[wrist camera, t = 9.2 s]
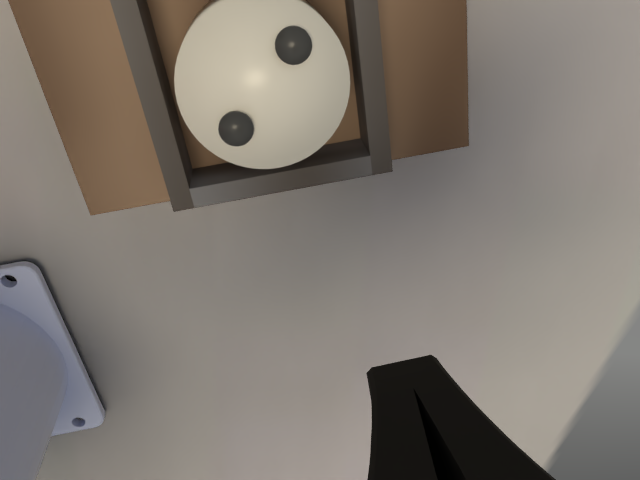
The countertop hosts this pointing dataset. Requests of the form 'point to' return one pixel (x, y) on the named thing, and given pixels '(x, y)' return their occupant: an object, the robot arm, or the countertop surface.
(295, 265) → the countertop surface
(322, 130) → the button two
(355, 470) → the countertop surface
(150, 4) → the button panel
